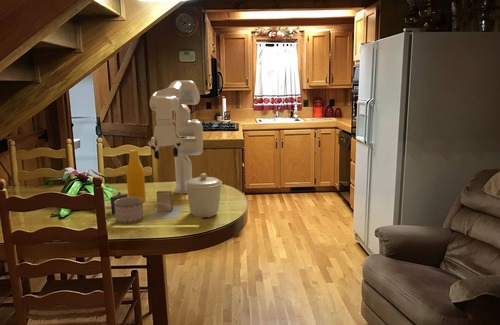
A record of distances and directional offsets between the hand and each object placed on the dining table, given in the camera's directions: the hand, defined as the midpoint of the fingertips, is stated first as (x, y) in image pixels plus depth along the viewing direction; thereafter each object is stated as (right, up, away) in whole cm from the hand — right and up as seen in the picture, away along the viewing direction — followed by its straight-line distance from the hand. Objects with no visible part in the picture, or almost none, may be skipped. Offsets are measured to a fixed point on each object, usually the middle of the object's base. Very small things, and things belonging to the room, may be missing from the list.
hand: (166, 157), depth 197 cm
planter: (-16, -31, -7) cm, 35 cm away
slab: (-2, -27, +6) cm, 27 cm away
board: (-1, -28, +4) cm, 28 cm away
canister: (+18, -29, +2) cm, 34 cm away
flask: (-25, -28, +7) cm, 38 cm away
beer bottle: (-21, -25, +23) cm, 39 cm away
